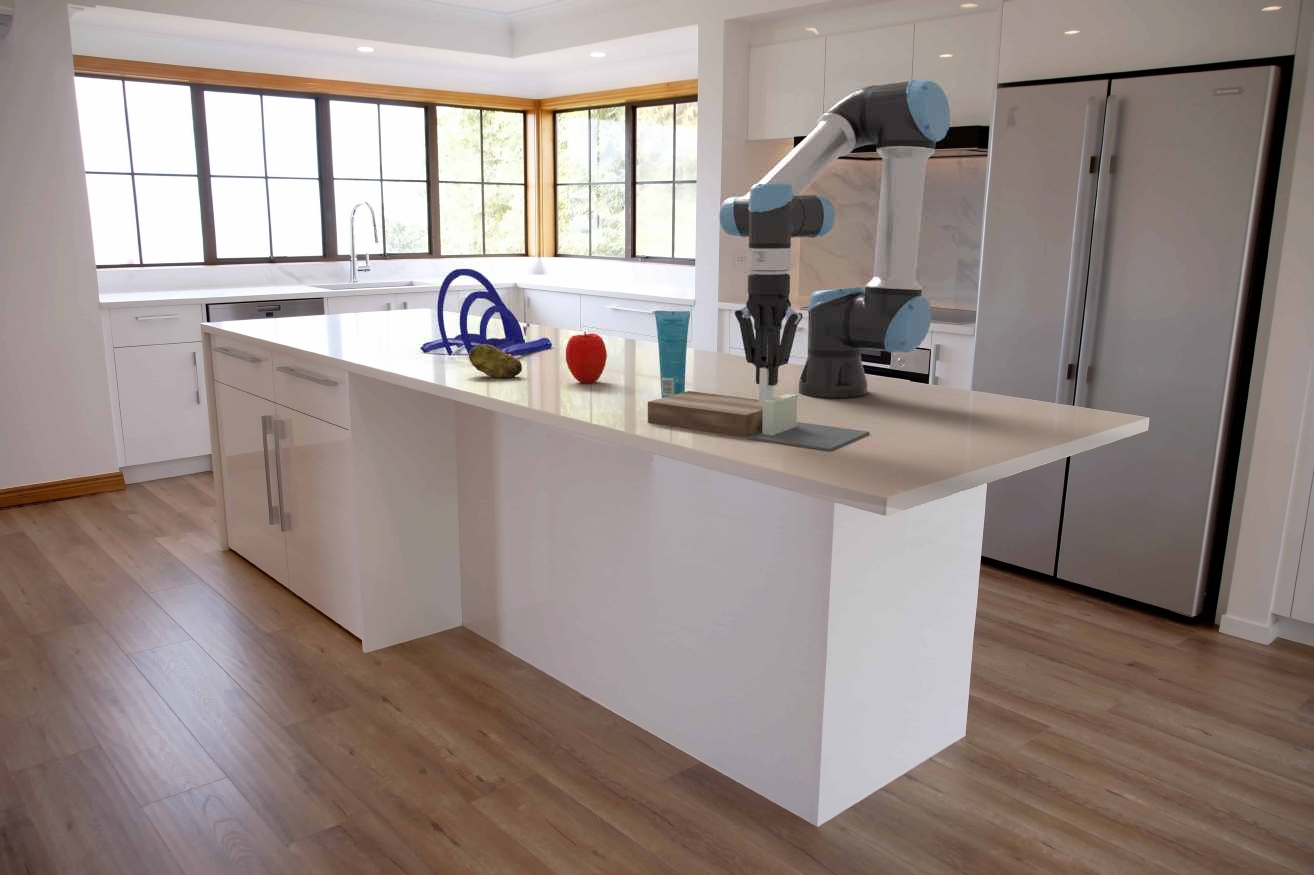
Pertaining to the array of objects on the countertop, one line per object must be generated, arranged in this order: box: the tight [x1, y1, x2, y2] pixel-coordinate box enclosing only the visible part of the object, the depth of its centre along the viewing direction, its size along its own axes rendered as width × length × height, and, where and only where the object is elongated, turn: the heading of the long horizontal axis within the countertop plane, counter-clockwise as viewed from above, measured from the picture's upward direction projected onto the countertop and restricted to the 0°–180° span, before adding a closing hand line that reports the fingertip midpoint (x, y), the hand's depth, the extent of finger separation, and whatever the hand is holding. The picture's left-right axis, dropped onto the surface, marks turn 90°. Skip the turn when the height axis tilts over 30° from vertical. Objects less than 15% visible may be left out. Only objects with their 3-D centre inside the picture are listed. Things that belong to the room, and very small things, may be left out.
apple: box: [565, 331, 608, 384], centre depth 228 cm, size 10×10×12 cm
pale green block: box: [761, 393, 798, 435], centre depth 175 cm, size 9×6×2 cm
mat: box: [747, 421, 871, 452], centre depth 173 cm, size 16×16×1 cm
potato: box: [468, 344, 523, 379], centre depth 237 cm, size 8×13×8 cm, turn 58°
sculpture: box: [419, 268, 553, 357], centre depth 282 cm, size 35×34×26 cm
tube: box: [654, 310, 691, 398], centre depth 204 cm, size 7×5×19 cm, turn 90°
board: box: [647, 390, 763, 438], centre depth 184 cm, size 14×22×4 cm, turn 54°
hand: (766, 402), depth 177 cm, fingers closed
